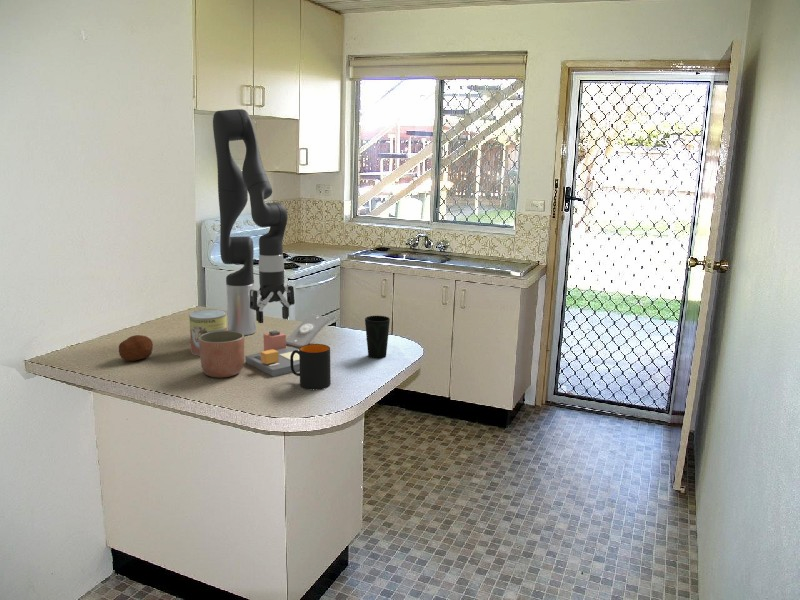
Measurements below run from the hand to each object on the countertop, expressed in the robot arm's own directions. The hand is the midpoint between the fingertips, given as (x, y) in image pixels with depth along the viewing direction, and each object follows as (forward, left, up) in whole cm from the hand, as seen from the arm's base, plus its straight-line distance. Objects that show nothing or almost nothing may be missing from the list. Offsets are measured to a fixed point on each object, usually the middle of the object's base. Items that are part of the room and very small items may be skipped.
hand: (273, 320), depth 208 cm
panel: (+11, -3, -10) cm, 16 cm away
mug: (+30, -6, -11) cm, 33 cm away
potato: (-20, -35, -11) cm, 42 cm away
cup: (+22, +24, -11) cm, 34 cm away
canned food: (-15, -14, -11) cm, 23 cm away
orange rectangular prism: (+13, -9, -8) cm, 18 cm away
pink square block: (0, +1, -11) cm, 11 cm away
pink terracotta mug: (+8, -21, -11) cm, 25 cm away
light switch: (-4, +15, -11) cm, 19 cm away
